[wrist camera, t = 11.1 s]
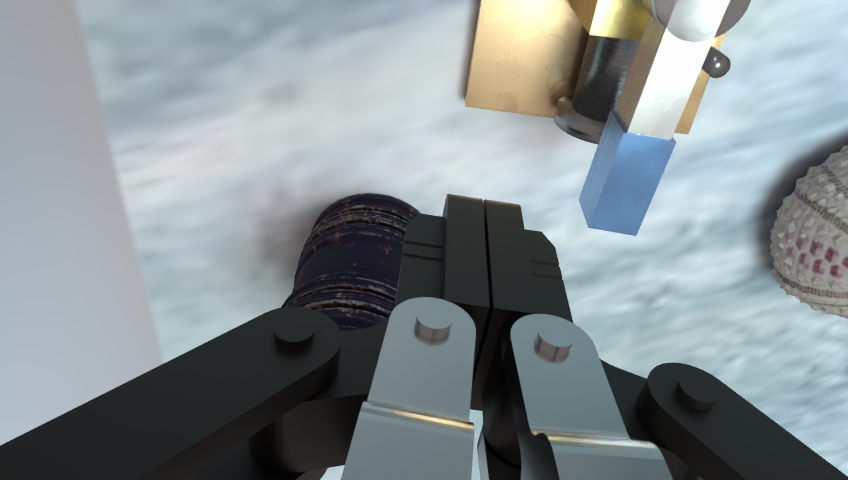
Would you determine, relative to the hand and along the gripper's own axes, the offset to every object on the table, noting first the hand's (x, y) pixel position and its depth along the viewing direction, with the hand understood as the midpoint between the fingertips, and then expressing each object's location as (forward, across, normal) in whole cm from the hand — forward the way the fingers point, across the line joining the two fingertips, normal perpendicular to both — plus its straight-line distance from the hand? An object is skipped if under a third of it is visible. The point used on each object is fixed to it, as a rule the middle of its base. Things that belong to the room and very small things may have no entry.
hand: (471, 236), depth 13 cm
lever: (+18, -9, +1) cm, 20 cm away
